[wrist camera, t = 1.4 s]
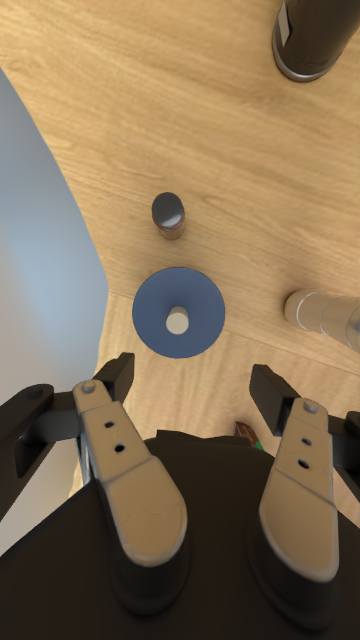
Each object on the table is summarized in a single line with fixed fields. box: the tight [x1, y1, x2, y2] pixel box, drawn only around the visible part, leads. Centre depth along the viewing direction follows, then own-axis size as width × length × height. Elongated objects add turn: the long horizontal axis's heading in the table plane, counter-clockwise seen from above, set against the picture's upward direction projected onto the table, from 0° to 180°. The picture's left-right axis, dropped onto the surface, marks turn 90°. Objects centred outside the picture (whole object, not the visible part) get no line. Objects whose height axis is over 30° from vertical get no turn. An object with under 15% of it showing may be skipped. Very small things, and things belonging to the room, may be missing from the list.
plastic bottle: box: [285, 288, 360, 354], centre depth 23 cm, size 6×7×20 cm
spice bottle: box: [152, 192, 185, 240], centre depth 26 cm, size 4×4×8 cm
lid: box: [132, 267, 225, 358], centre depth 24 cm, size 13×13×6 cm
